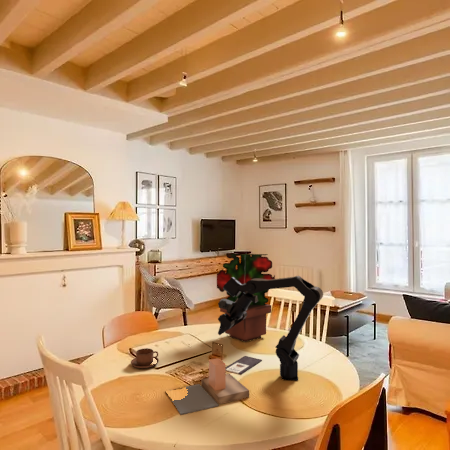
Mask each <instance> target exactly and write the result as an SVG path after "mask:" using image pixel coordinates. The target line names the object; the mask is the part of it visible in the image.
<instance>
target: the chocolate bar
mask: <svg viewBox="0 0 450 450" xmlns="http://www.w3.org/2000/svg"><path fill="white" fill-rule="evenodd" d="M261 362H263V359H260V358H256V357H252V356H247V355H244V356H242V357H239V359H237V360H235V361H233V362H232V363H230V364H229V365H227V366H226V372H230V373H233V374H238V375H241V376H242V375H243V374H244V373H246V372H248V371H249V370H251V369H252V368H254V367H255V366H257V365H259V364H260V363H261Z"/></svg>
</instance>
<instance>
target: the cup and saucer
mask: <svg viewBox="0 0 450 450" xmlns="http://www.w3.org/2000/svg"><path fill="white" fill-rule="evenodd" d="M135 352H136V353H135V354H136V355H135V358H133V359H131V360H130V364H131V366H133V367H134V368H136V369H149V368H152V367H154V365H155V366H156V365H157V364H159V358H158V357H159V352H158V351H155V350H154V349H152V348H140V349H138V350H136V351H135ZM155 353H156V355H155V356H154V354H155ZM153 358H155V359H156V360H157V363H156V364H153V365H150V364H151V363H152V362H153Z"/></svg>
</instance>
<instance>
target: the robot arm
mask: <svg viewBox="0 0 450 450" xmlns="http://www.w3.org/2000/svg"><path fill="white" fill-rule="evenodd" d="M284 288H285V289H286V288H295V289H296V290H297V291H298V293H300V294H301V295H302V296H304V298H303V301H302V306H301V309H300V310H299V312H298V314H297V316H296V317H295V320H294V322H293V324H292V325H291V327H290V329H289V331H288V333H287V334H286V335H285V334H283V335H282V336H281V337H280V338H279V340H278V342H277V345H275V348H276V349H275V355H276V357H277V358H278V359H279V362H280V364H279V376H280V377H281V380H282V379H288V380H287V381H299V377H298V376H299V373H298V372H299V371H298V370H299V369H298V368H299V363H298V359H299V356H300V354H299V353H298V352H297V350H296V349H295V347H296V343H297V339H298V337H299V335H300V333H301V331H302V329H303V327H304V325H305V324H306V322H307V320H308V318H309V316H311V315H310V314H311V312H312V311H313V310H314V308H315V307H316V306H317V305H318V304H319V302H320V301H321V300H322V298H323V297H324V292H323V290H322V289H321V287H320V286H315V285H314V284H312V283H311V282H309V281H307V280H306V279H304V278H303V277H302V276H300V275H296V276H289V277H281V278H280V277H279V278H275V279H270V280H268V279H259V278H255V279H252V280H249V281H247V283H244V284H241V283H240V282H239V281H237V280H236V279H235V278H234V277H232V278H231V279H230V280H229V281H228V282H227V283H226V284H225V285H224V287H223V289H224V290H225V291H224V292H226V293H227V292H228V293H229V294H230V295H231V296H232V297H234V296H236V297H237V296H238V295H239V294H240V293H241V294H240V295H239V297H238V298H237V300H236V301H235V302H233V301H230V300H227V298H221V299H220V300H219V301H218V302H217V304H218V308H219V309H220V308H223V309H225V310H227V311H226V312H227V313H229V315H230V316H229V315H227V314H226V313H222V314H221V315H219V316H218V318H217V320H218V322H219V323H220V324H219V328H218V332H217V335H219V336H221V335H222V334H223V333H225V331H227V330H229V329H230V328H232V327H233V326H235V325H236V324H238V323H239V322H241V321H242V320H243V319H245V318H246V316H247V312H246V311H247V309H248V306H249V305H250V303H251V302H252V301H253V302H254V303H256V302H257V301H258V298H257V295H253V294H255V293H258V292H261V291H264V290H267V289H269V290H273V289H275V290H276V289H284ZM242 317H243V318H242ZM289 379H290V380H289Z"/></svg>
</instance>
